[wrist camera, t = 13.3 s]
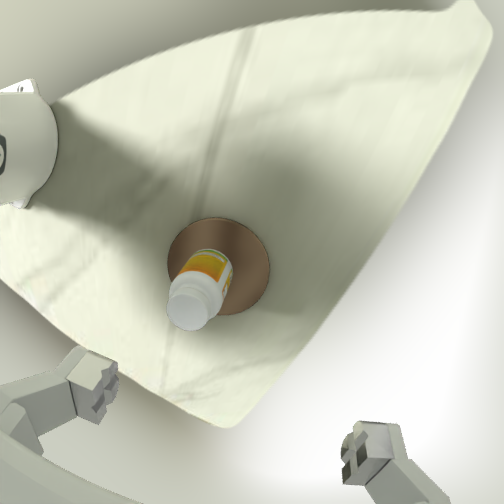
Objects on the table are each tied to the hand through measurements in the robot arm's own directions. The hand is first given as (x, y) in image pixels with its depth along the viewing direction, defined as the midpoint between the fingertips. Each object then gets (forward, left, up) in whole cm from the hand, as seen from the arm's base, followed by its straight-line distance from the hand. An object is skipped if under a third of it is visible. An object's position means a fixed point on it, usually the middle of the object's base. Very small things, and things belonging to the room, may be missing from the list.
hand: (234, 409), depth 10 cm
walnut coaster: (-5, -8, -28) cm, 29 cm away
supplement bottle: (-6, -8, -27) cm, 29 cm away
